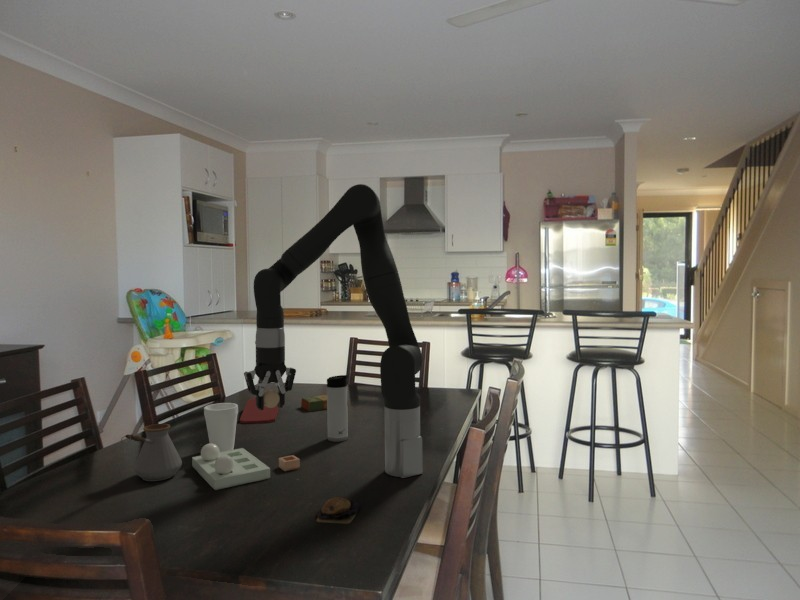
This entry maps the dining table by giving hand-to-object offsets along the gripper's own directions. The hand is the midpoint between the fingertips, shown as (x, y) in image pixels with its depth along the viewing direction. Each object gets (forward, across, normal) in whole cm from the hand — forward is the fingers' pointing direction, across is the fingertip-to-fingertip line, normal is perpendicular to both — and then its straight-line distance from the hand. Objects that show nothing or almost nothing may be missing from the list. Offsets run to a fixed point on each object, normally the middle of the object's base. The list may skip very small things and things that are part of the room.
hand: (270, 408), depth 156 cm
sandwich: (+16, +2, -36) cm, 40 cm away
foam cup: (+17, -6, +23) cm, 29 cm away
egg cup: (+16, +4, -3) cm, 17 cm away
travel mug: (+16, +27, +13) cm, 34 cm away
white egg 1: (+15, -13, +9) cm, 22 cm away
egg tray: (+16, -10, +3) cm, 19 cm away
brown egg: (0, 0, 0) cm, 0 cm away
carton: (+17, +42, +56) cm, 72 cm away
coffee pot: (+17, -29, +7) cm, 34 cm away
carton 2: (+18, +18, +58) cm, 64 cm away
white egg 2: (+14, -13, -3) cm, 20 cm away
